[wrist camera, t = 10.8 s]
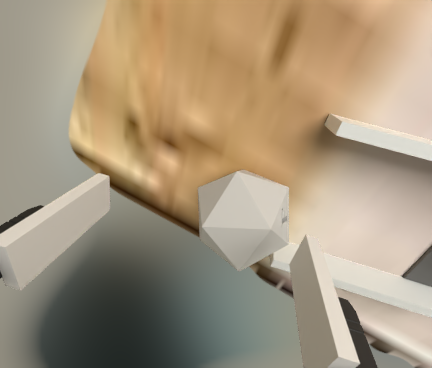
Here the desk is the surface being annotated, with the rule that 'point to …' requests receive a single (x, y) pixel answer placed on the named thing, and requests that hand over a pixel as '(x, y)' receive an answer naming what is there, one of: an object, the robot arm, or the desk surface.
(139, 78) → the desk surface
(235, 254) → the die
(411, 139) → the grey u-shaped frame
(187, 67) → the desk surface
